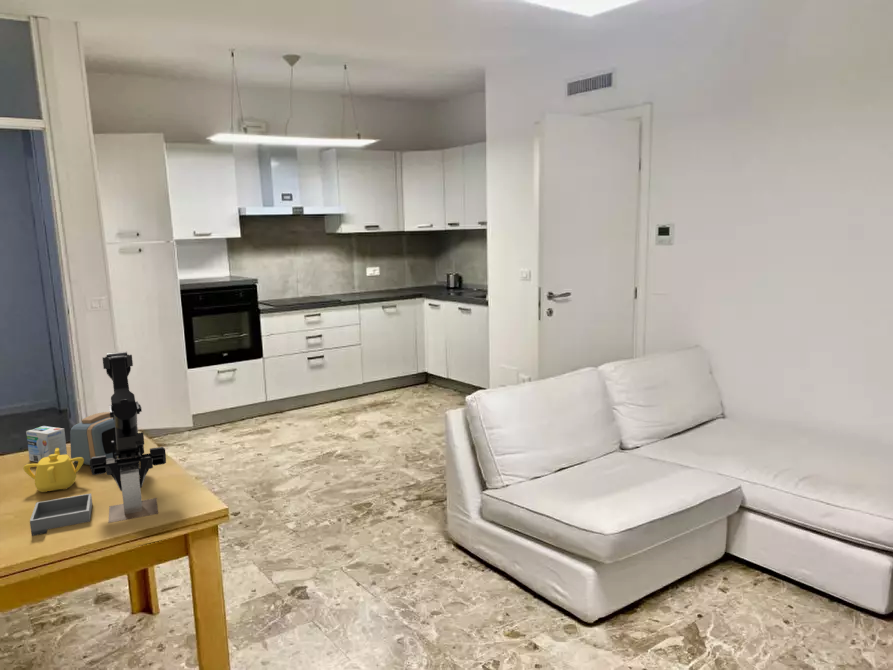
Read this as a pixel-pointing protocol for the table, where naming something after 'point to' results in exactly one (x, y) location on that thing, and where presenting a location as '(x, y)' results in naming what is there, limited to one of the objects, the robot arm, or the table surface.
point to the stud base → (147, 509)
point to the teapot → (54, 471)
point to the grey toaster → (92, 437)
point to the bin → (60, 513)
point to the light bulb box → (45, 442)
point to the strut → (131, 489)
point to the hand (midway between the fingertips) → (131, 488)
